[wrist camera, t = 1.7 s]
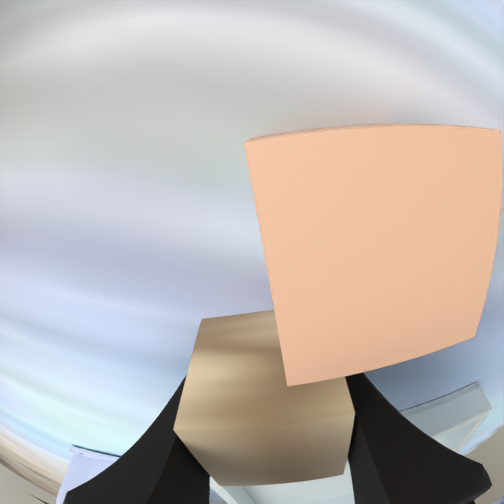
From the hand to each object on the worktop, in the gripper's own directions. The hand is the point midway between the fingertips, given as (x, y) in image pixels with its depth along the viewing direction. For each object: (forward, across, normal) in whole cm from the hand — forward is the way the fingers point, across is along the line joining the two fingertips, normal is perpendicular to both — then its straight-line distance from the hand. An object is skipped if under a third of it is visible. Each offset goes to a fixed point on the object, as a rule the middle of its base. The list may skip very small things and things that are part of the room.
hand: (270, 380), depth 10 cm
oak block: (+2, 0, 0) cm, 2 cm away
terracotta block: (+2, -3, -6) cm, 7 cm away
